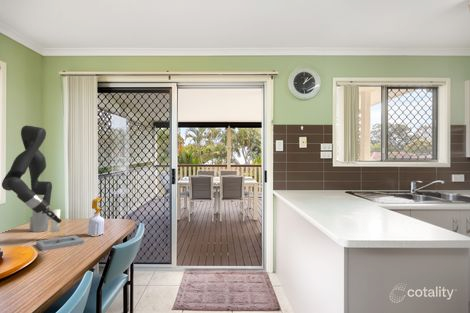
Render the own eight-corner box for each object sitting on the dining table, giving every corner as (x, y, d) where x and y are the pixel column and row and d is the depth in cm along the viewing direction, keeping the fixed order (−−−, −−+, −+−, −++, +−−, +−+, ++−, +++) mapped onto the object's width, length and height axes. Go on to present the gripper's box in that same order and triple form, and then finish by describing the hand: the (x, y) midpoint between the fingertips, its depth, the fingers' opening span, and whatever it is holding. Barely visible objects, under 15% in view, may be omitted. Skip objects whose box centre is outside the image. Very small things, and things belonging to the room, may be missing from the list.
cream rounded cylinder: (48, 232, 155) (50, 210, 156) (53, 230, 160) (54, 209, 160) (56, 232, 156) (57, 210, 156) (60, 230, 160) (62, 209, 160)
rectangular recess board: (42, 250, 136) (42, 247, 137) (36, 244, 146) (36, 241, 146) (83, 243, 151) (84, 240, 151) (75, 238, 161) (76, 235, 161)
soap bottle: (106, 234, 174) (108, 197, 175) (95, 237, 165) (98, 199, 166) (95, 232, 176) (98, 196, 177) (84, 235, 168) (87, 198, 169)
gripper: (45, 200, 148) (67, 218, 157) (39, 196, 157) (61, 214, 166) (33, 210, 144) (56, 228, 153) (27, 206, 153) (50, 223, 162)
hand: (59, 221), depth 159 cm, fingers closed on cream rounded cylinder, 4 cm apart
